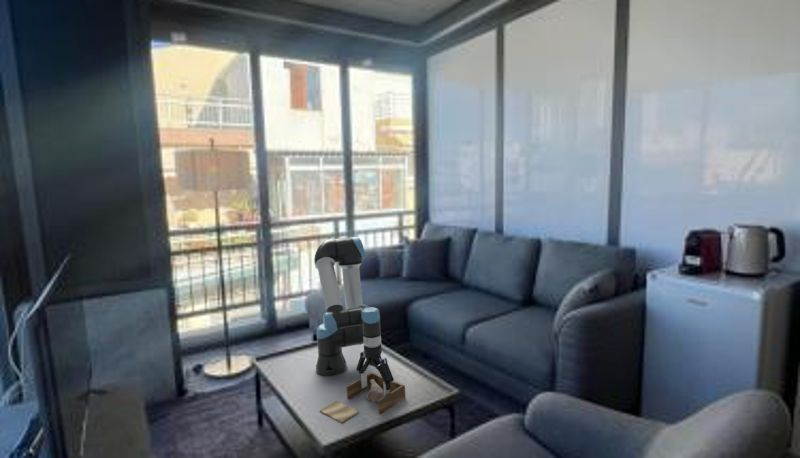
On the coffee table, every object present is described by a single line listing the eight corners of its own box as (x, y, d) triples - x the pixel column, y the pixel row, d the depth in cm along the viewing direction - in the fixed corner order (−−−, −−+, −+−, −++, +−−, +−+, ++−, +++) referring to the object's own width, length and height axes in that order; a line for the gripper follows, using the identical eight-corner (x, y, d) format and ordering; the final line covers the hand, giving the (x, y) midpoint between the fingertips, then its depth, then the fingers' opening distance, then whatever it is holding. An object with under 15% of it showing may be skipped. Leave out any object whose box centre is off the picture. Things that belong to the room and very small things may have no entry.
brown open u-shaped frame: (347, 398, 191) (346, 385, 190) (372, 384, 203) (371, 372, 202) (380, 414, 178) (379, 400, 177) (405, 398, 190) (404, 385, 189)
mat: (319, 411, 183) (319, 410, 183) (336, 401, 189) (336, 400, 189) (342, 423, 174) (341, 421, 173) (358, 412, 180) (358, 411, 180)
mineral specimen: (361, 394, 194) (360, 381, 193) (376, 390, 198) (375, 377, 197) (373, 408, 183) (372, 394, 182) (389, 403, 187) (388, 389, 186)
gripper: (346, 340, 192) (349, 386, 195) (388, 354, 176) (391, 404, 178) (358, 335, 198) (361, 380, 201) (400, 348, 181) (403, 396, 184)
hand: (375, 391), depth 190 cm, fingers open, 13 cm apart
